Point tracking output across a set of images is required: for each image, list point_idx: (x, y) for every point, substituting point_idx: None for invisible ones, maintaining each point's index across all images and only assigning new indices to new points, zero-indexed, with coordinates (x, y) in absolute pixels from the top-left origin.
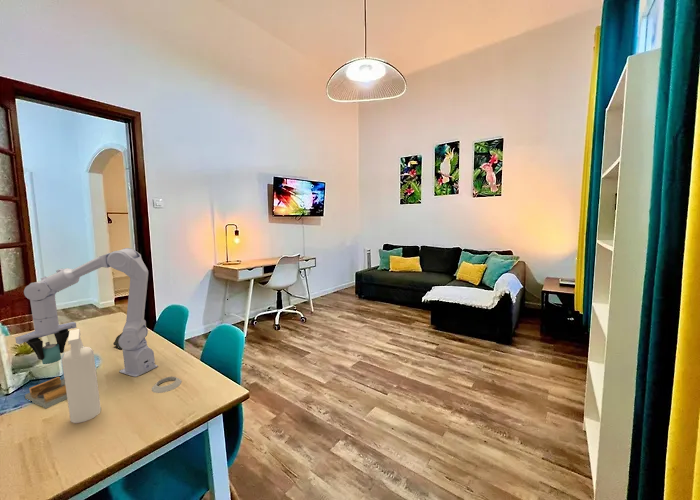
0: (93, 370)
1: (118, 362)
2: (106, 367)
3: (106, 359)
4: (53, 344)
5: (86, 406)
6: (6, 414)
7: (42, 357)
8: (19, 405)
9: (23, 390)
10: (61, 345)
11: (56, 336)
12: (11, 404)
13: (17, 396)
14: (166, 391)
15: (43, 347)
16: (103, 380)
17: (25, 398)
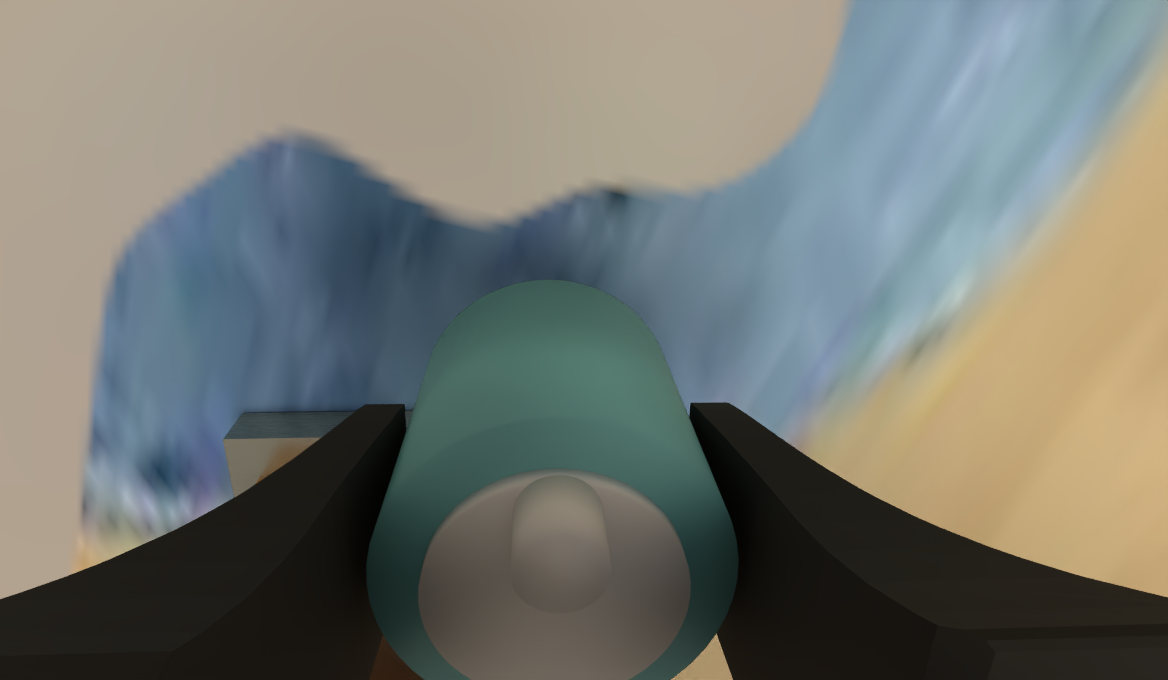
0: None
1: (1050, 444)
2: (931, 445)
3: (1108, 225)
4: (648, 581)
5: None
6: (81, 550)
7: None
8: (181, 486)
9: (282, 160)
10: (727, 658)
11: (844, 671)
12: (137, 399)
13: (208, 264)
14: None
15: (433, 575)
16: (727, 667)
17: (239, 418)
